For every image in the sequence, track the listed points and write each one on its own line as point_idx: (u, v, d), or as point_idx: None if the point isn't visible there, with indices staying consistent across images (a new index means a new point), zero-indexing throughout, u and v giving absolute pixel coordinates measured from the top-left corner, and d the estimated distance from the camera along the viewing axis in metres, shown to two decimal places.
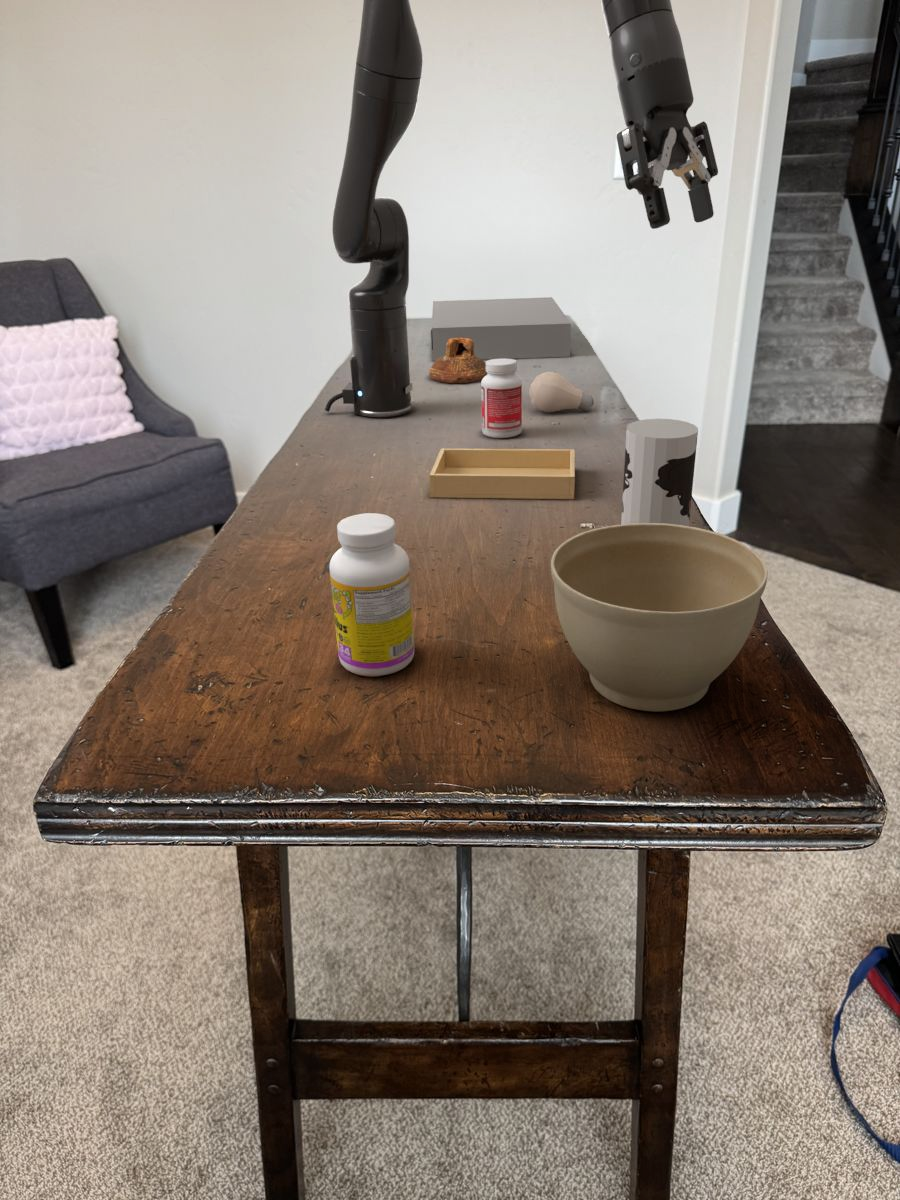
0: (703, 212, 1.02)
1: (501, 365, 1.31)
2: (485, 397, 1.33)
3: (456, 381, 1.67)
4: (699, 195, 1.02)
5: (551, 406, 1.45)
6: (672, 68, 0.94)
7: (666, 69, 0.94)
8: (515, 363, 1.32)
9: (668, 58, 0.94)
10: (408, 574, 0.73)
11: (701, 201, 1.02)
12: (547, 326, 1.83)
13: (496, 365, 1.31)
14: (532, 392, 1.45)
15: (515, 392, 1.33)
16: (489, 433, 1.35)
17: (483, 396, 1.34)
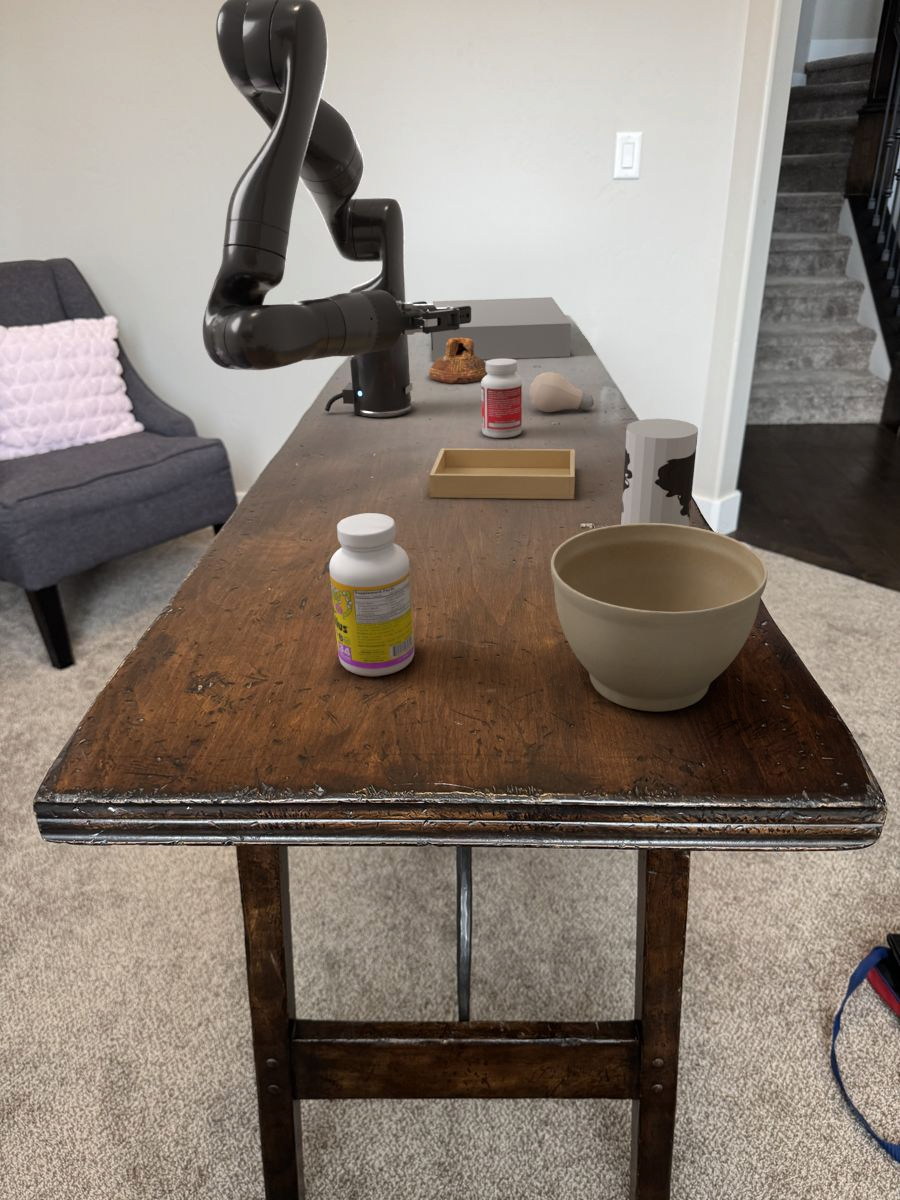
0: None
1: (501, 365, 1.31)
2: (485, 397, 1.33)
3: (456, 381, 1.67)
4: None
5: (551, 407, 1.45)
6: None
7: None
8: (515, 363, 1.32)
9: None
10: (408, 574, 0.73)
11: None
12: (547, 326, 1.83)
13: (496, 365, 1.31)
14: (532, 392, 1.45)
15: (515, 392, 1.33)
16: (489, 433, 1.35)
17: (483, 396, 1.34)
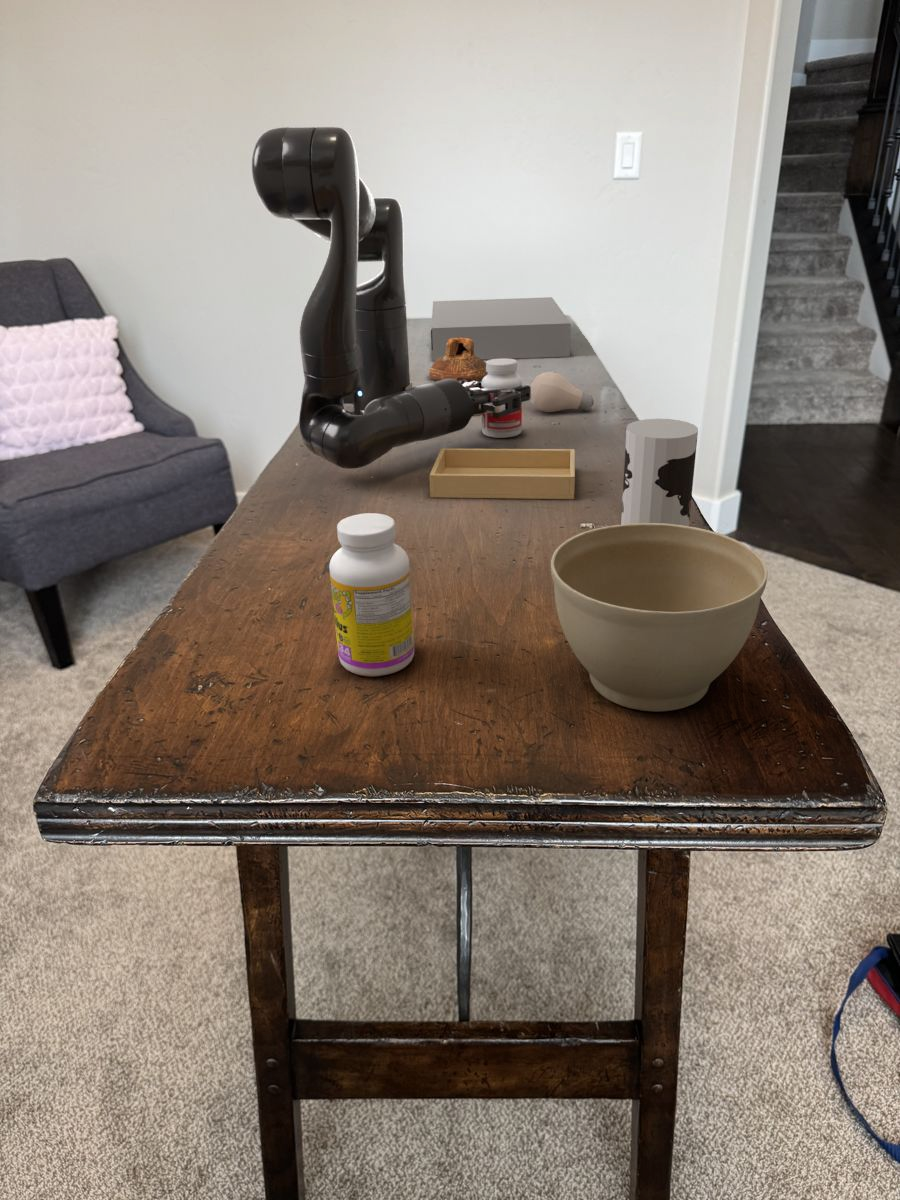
0: None
1: (501, 365, 1.31)
2: None
3: None
4: None
5: (551, 407, 1.45)
6: None
7: None
8: (515, 363, 1.32)
9: None
10: (408, 574, 0.73)
11: None
12: (547, 326, 1.83)
13: (496, 365, 1.31)
14: (532, 392, 1.45)
15: None
16: (489, 433, 1.35)
17: None
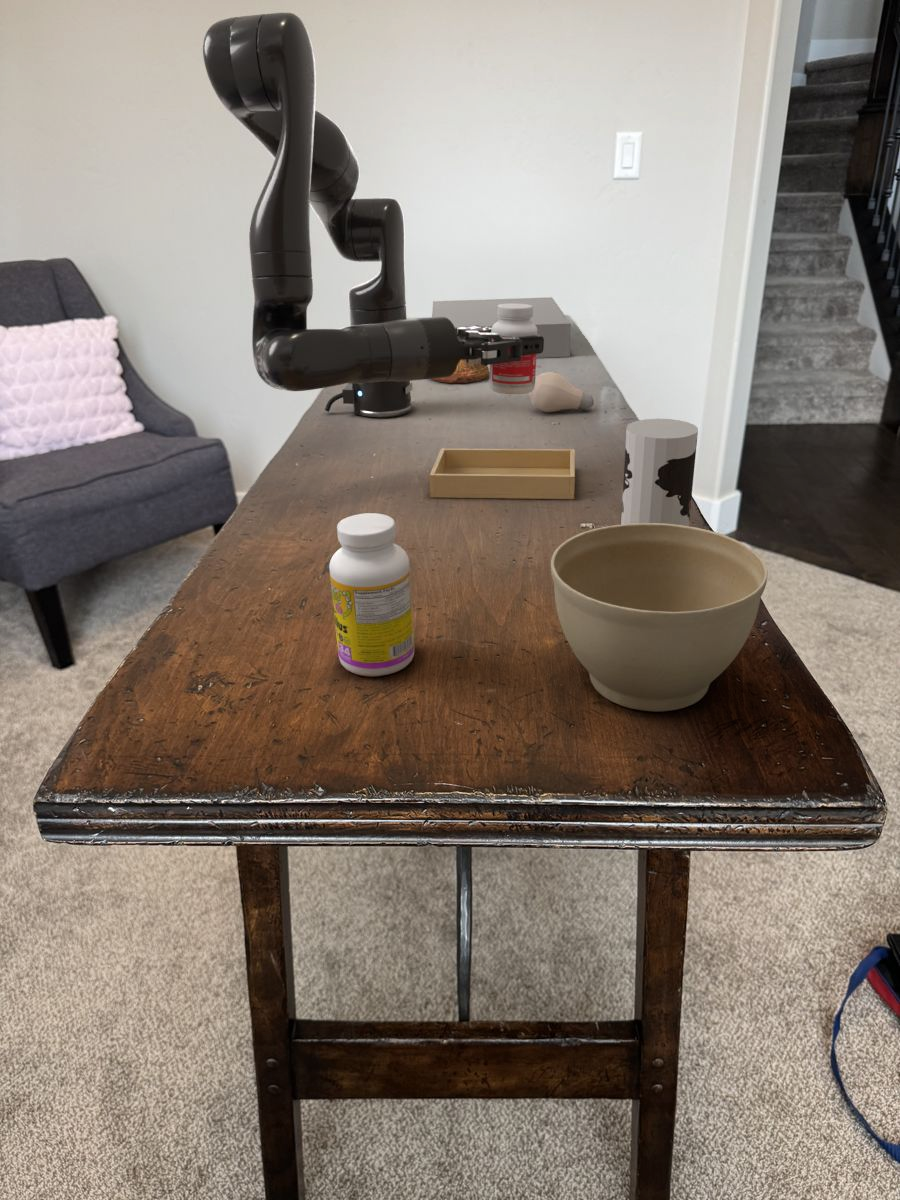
0: None
1: (510, 309, 1.14)
2: None
3: (456, 381, 1.67)
4: None
5: (551, 407, 1.45)
6: None
7: None
8: (528, 308, 1.15)
9: None
10: (408, 574, 0.73)
11: None
12: (547, 326, 1.83)
13: (505, 308, 1.15)
14: (532, 392, 1.45)
15: None
16: (493, 387, 1.19)
17: None
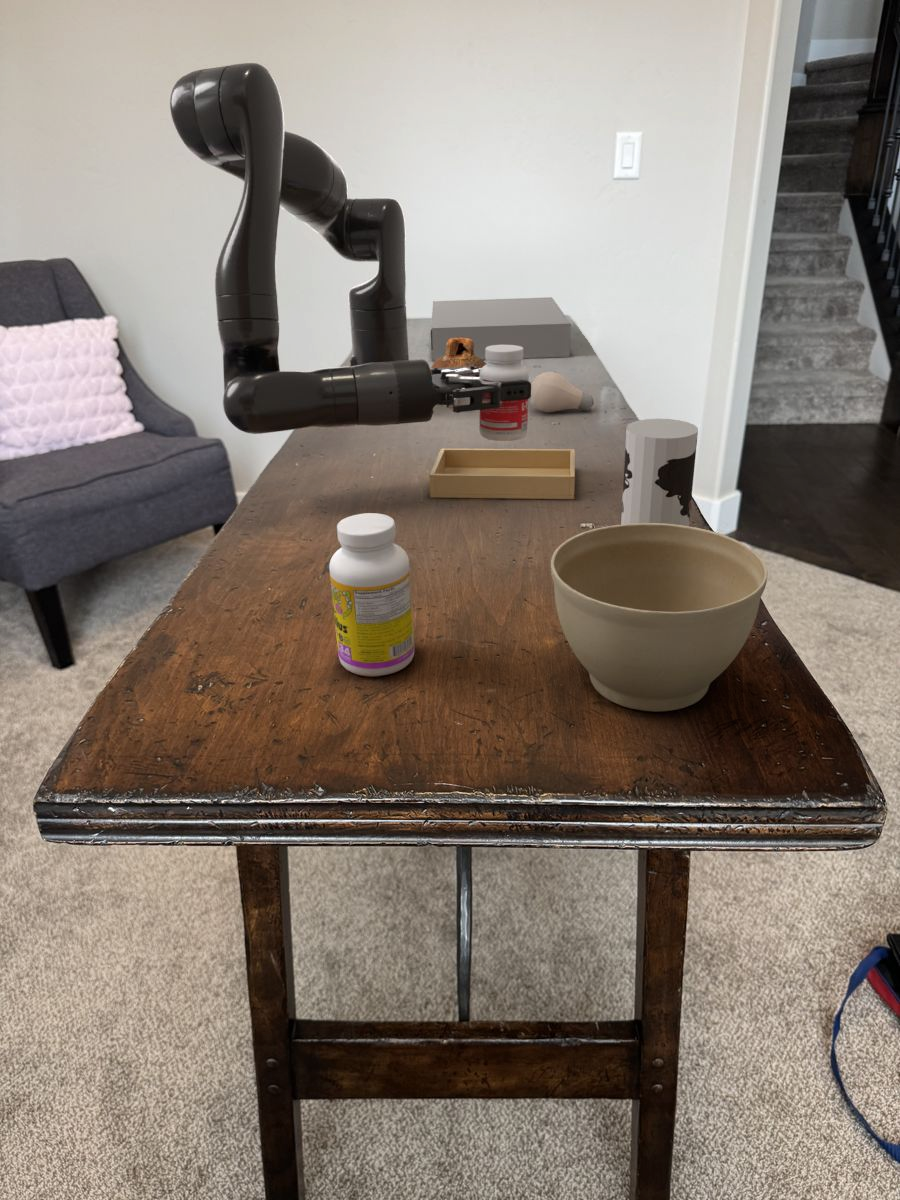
0: None
1: (495, 352, 1.08)
2: None
3: None
4: None
5: (551, 407, 1.45)
6: None
7: None
8: (515, 352, 1.08)
9: None
10: (408, 574, 0.73)
11: None
12: (547, 326, 1.83)
13: (490, 351, 1.08)
14: (532, 392, 1.45)
15: None
16: (481, 432, 1.13)
17: None
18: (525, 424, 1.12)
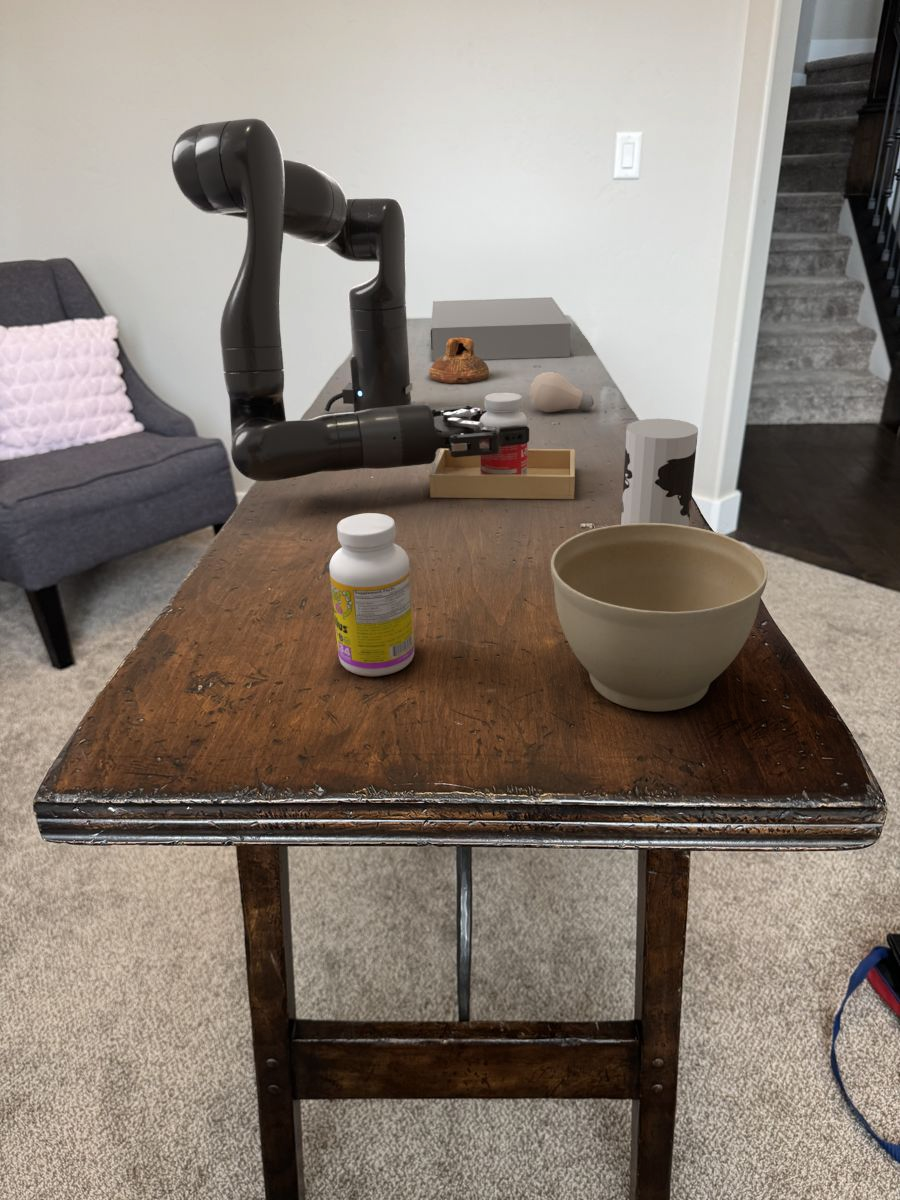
0: None
1: (494, 401, 1.10)
2: None
3: (456, 381, 1.67)
4: None
5: (551, 407, 1.45)
6: None
7: None
8: (514, 401, 1.10)
9: None
10: (408, 574, 0.73)
11: None
12: (547, 326, 1.83)
13: (489, 400, 1.11)
14: (532, 392, 1.45)
15: None
16: None
17: None
18: (525, 469, 1.15)
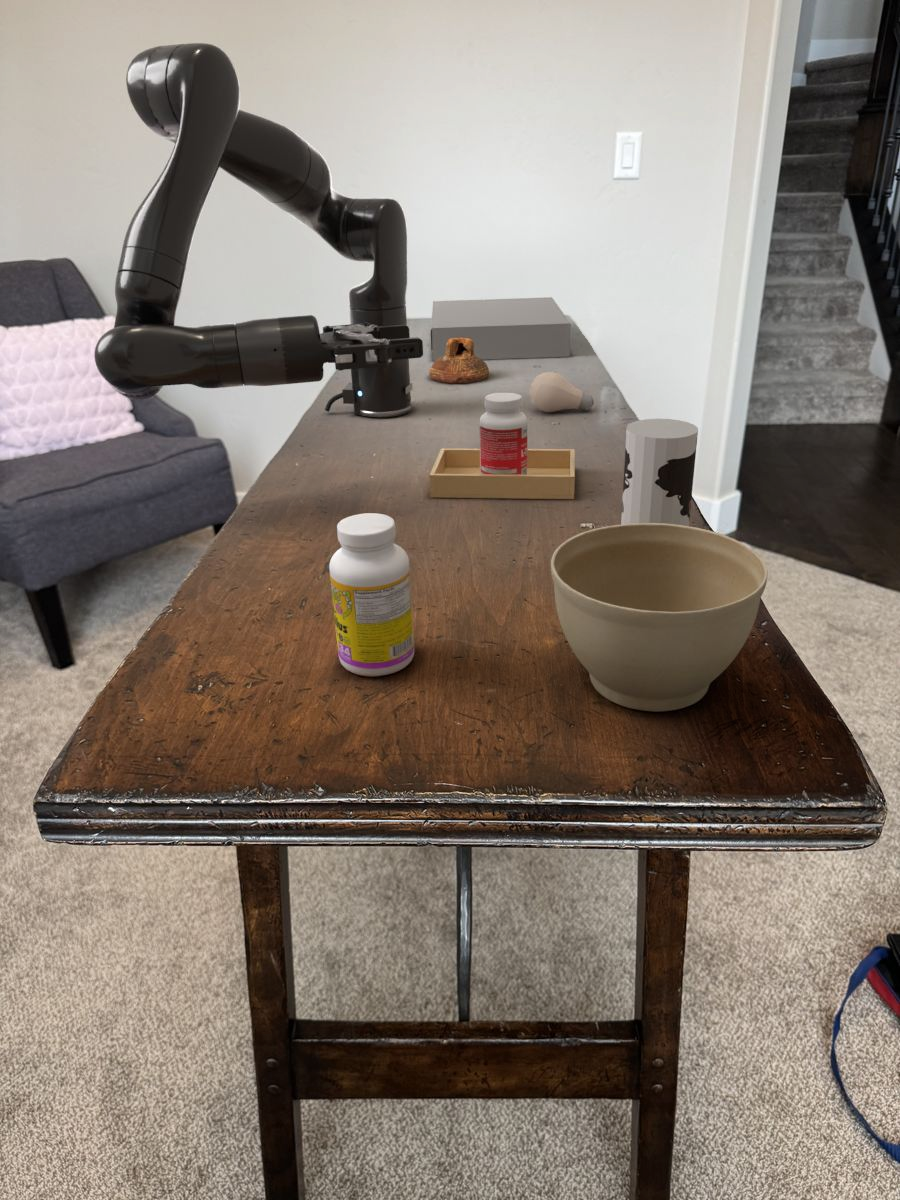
0: None
1: (494, 401, 1.10)
2: (480, 435, 1.14)
3: (456, 381, 1.67)
4: None
5: (551, 406, 1.45)
6: None
7: None
8: (514, 401, 1.10)
9: None
10: (408, 574, 0.73)
11: None
12: (547, 326, 1.83)
13: (489, 400, 1.11)
14: (532, 392, 1.45)
15: (509, 435, 1.11)
16: None
17: None
18: (525, 469, 1.15)
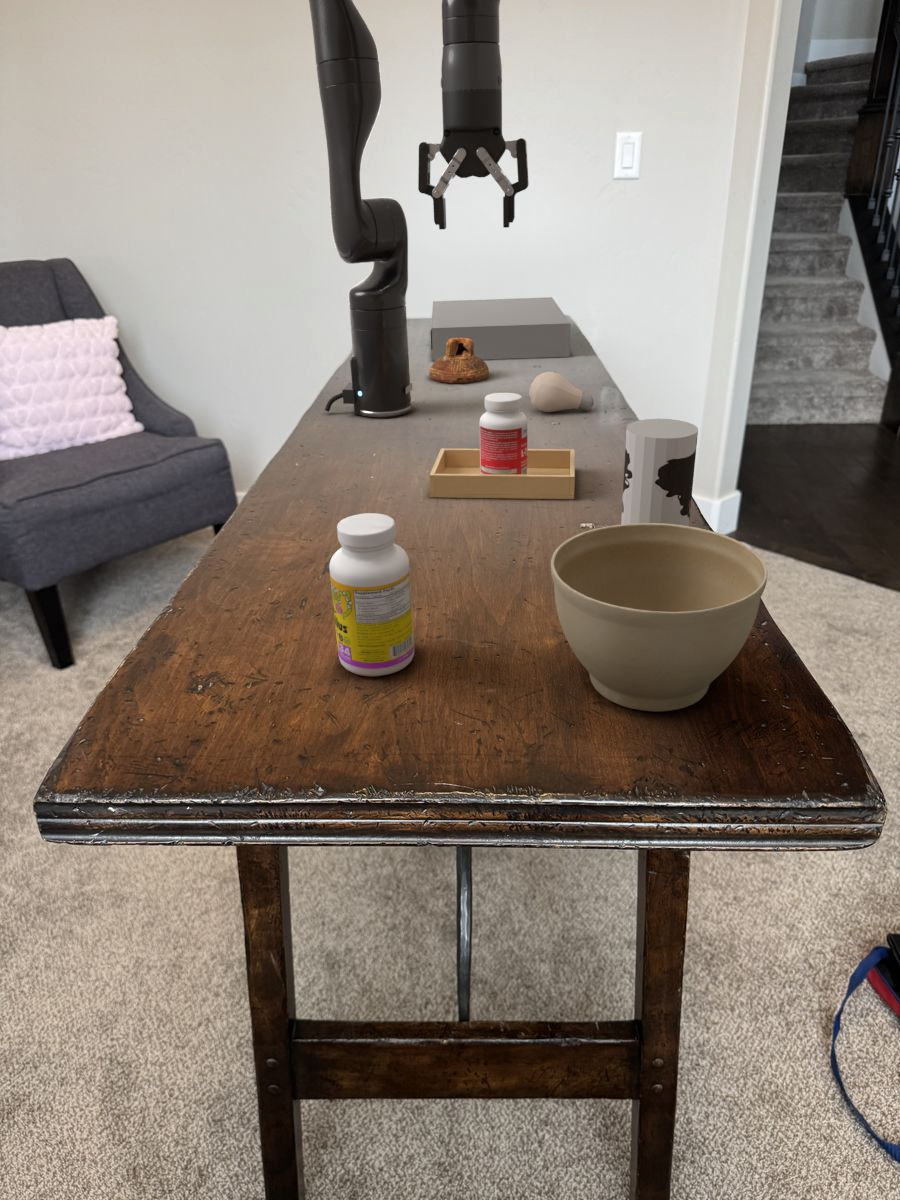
0: None
1: (494, 401, 1.10)
2: (480, 435, 1.14)
3: (456, 381, 1.67)
4: None
5: (551, 407, 1.45)
6: (458, 99, 1.09)
7: (453, 99, 1.09)
8: (514, 401, 1.10)
9: (456, 89, 1.08)
10: (408, 574, 0.73)
11: None
12: (547, 326, 1.83)
13: (489, 400, 1.11)
14: (532, 392, 1.45)
15: (509, 435, 1.11)
16: None
17: None
18: (525, 469, 1.15)
